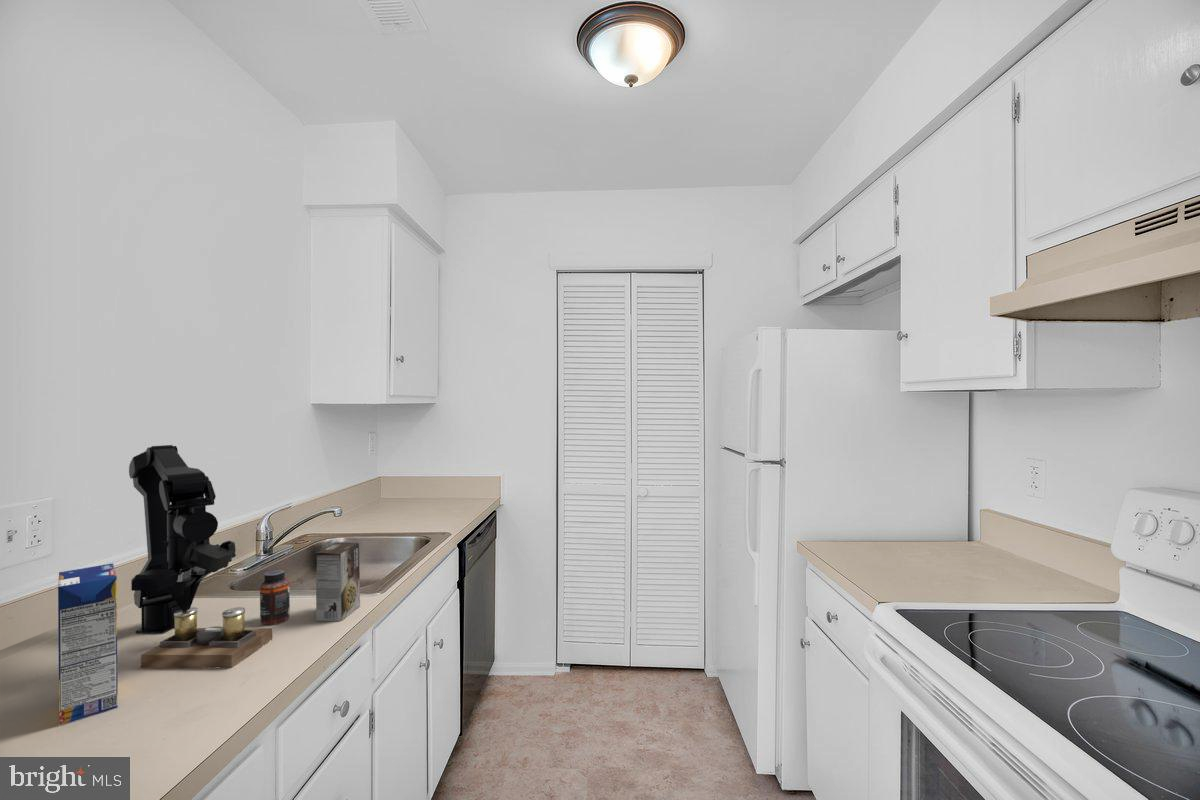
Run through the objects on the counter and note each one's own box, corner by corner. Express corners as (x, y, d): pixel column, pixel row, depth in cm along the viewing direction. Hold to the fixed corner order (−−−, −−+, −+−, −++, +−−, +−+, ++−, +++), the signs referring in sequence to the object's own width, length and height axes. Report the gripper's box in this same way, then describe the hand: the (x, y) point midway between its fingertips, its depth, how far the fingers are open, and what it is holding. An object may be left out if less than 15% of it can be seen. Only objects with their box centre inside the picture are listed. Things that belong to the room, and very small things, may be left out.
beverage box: (59, 726, 83) (58, 587, 83) (59, 699, 91) (59, 572, 91) (117, 707, 88) (116, 576, 88) (113, 683, 95) (112, 563, 96)
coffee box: (335, 606, 131) (335, 541, 131) (361, 606, 131) (360, 541, 131) (314, 621, 122) (314, 552, 122) (341, 621, 122) (341, 552, 122)
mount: (140, 667, 101) (140, 649, 101) (190, 639, 113) (190, 623, 113) (231, 667, 101) (231, 649, 101) (272, 639, 113) (272, 623, 113)
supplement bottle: (295, 615, 126) (295, 568, 126) (278, 626, 120) (277, 576, 120) (272, 615, 126) (272, 568, 126) (253, 625, 120) (253, 576, 120)
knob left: (169, 642, 105) (168, 614, 105) (184, 634, 109) (184, 607, 109) (187, 642, 105) (187, 614, 105) (202, 634, 109) (202, 607, 109)
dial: (190, 644, 105) (190, 633, 105) (207, 634, 109) (207, 624, 109) (213, 644, 105) (213, 633, 105) (229, 634, 109) (229, 624, 109)
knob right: (217, 642, 105) (217, 614, 105) (231, 634, 109) (231, 607, 109) (236, 642, 105) (236, 614, 105) (249, 634, 109) (249, 607, 109)
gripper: (186, 546, 98) (187, 630, 98) (255, 523, 116) (255, 593, 116) (128, 546, 98) (128, 629, 98) (206, 523, 117) (206, 593, 117)
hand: (185, 610), depth 107 cm, fingers closed
